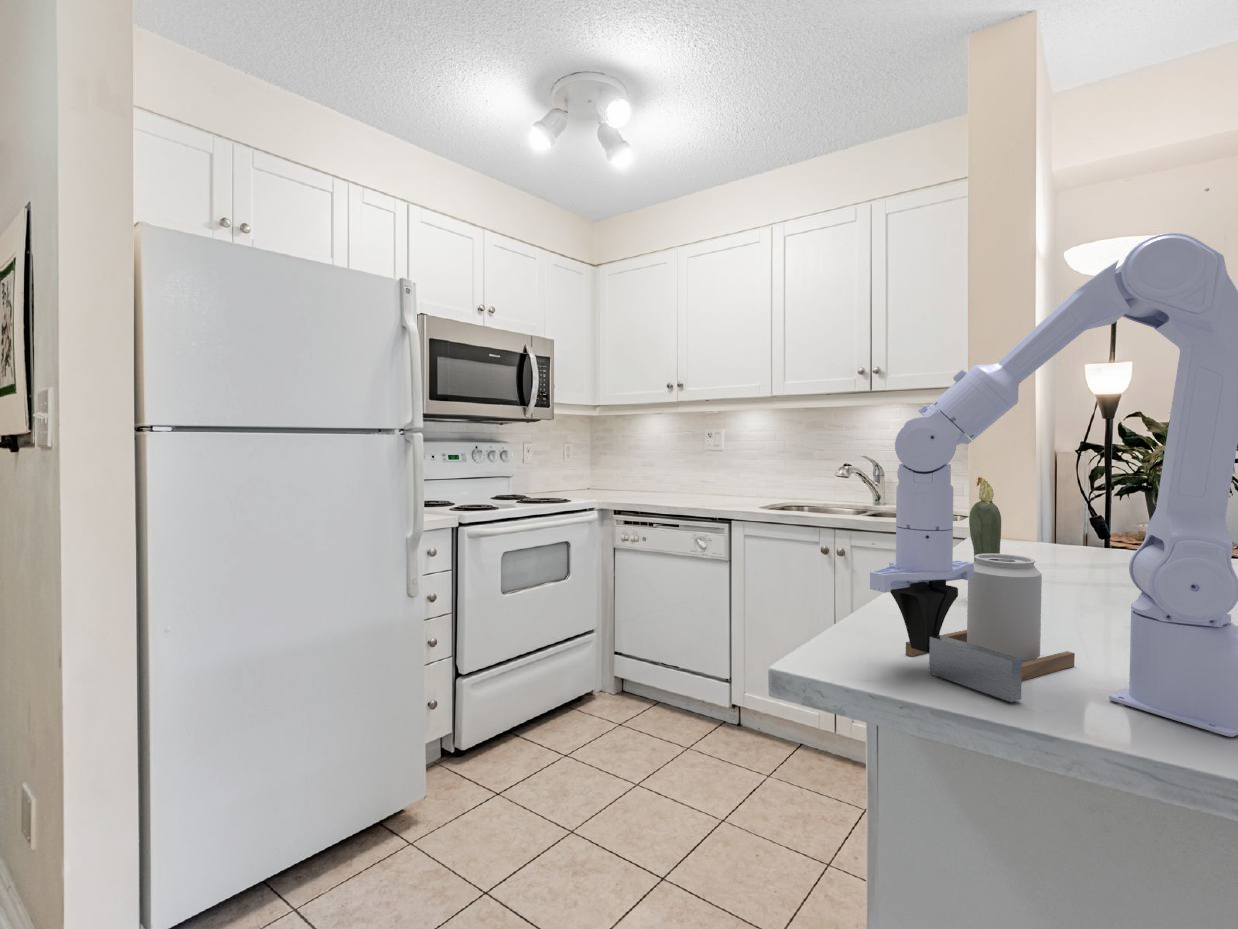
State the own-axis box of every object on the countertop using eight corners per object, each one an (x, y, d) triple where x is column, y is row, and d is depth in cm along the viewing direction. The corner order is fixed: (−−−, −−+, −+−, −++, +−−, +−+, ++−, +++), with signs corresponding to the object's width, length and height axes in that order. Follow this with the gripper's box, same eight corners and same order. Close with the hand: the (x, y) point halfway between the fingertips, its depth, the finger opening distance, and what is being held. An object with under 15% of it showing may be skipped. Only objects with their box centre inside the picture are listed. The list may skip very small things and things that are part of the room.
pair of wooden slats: (1074, 666, 74) (1074, 653, 74) (1000, 686, 68) (1000, 672, 68) (977, 639, 85) (977, 627, 85) (905, 654, 78) (905, 642, 78)
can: (1027, 650, 80) (1029, 552, 80) (1050, 670, 73) (1052, 563, 73) (960, 645, 82) (961, 549, 82) (975, 664, 75) (977, 560, 75)
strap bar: (1021, 699, 64) (1022, 658, 64) (1011, 702, 63) (1011, 661, 63) (938, 670, 72) (939, 634, 72) (929, 673, 71) (929, 636, 71)
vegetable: (1005, 608, 100) (1007, 477, 100) (976, 607, 101) (979, 477, 100) (989, 601, 105) (992, 476, 104) (962, 600, 105) (964, 476, 104)
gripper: (935, 520, 79) (934, 631, 80) (848, 527, 73) (847, 648, 73) (992, 526, 73) (990, 647, 73) (901, 535, 66) (900, 667, 67)
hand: (922, 649), depth 73 cm, fingers closed, pressing on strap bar
